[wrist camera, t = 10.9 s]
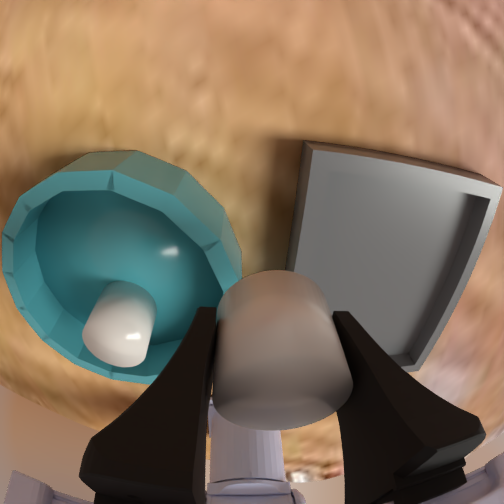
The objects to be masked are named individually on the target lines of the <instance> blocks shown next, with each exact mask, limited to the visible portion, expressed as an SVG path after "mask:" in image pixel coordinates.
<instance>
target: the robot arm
mask: <svg viewBox="0 0 504 504" xmlns="http://www.w3.org/2000/svg"><path fill="white" fill-rule="evenodd" d="M216 312H217V307H202V306H200V307H199V308H197V310H196V313H195V316H194V318H193V321H192V323H191V325H190V327H189V329H188V331H187V333H186V334H185V336H184V338H183V340H182V341H181V343H180V345H179V347H178V348H177V350H176V351H175V353H174V354H173V356H172V357H171V359H170V360H169V362H168V363H167V365H166V366H165V367H164V369H163V370H162V371H161V373H160V374H159V375H158V376H157V378H156V379H155V380H154V381H153V383H152V384H151V385H150V386H149V387H148V388H147V389H146V390H145V392H144V393H143V394H142V395H141V396H140V397H139V398H138V399H137V400H136V401H135V402H134V403H133V404H132V405H131V406H130V407H129V408H128V409H126V410H125V411H124V412H123V413H122V414H121V415H120V416H119V417H118V418H117V419H115V420H114V421H113V422H112V423H110V424H109V425H108V426H106V427H105V428H104V429H102V430H101V431H100V432H98V433H97V434H96V435H94V436H93V437H92V438H91V440H90V442H89V443H88V446H87V448H86V451H85V453H84V455H83V459H82V463H81V467H80V472H79V477H80V479H81V480H82V481H83V482H84V483H85V484H86V485H87V486H88V487H90V488H91V489H92V490H93V491H95V492H96V493H95V499H94V503H93V502H89V501H86V500H82V499H79V498H76V497H73V496H69V495H67V494H63V493H61V492H58V491H55V490H53V489H52V488H51V487H50V486H48V485H47V484H45V483H43V482H41V481H39V480H37V479H34V478H32V477H29V476H27V475H25V474H22V473H20V472H18V471H16V470H13V471H12V474H11V478H10V481H9V485H8V489H7V493H6V497H5V501H4V504H306V501H305V498H304V496H303V495H302V494H301V493H300V492H299V491H298V490H296V489H291V488H290V482H286V480H285V471H284V461H283V452H282V442H281V433H280V430H276V431H265V430H255V429H249V428H245V427H241V426H238V425H236V424H233V423H231V422H229V421H227V420H226V419H224V418H223V417H222V416H221V415H220V414H219V413H218V412H217V411H216V410H215V408H214V405H213V401H212V397H211V390H212V383H213V373H214V355H215V338H216ZM332 318H333V321H334V324H335V327H336V330H337V333H338V336H339V339H340V342H341V345H342V348H343V351H344V354H345V358H346V361H347V364H348V367H349V370H350V373H351V377H352V380H353V389H352V392H351V395H350V397H349V398H348V400H347V401H346V402H345V403H344V404H343V406H341V407H340V408H339V409H338V410H337V411H336V412H337V416H338V421H339V426H340V433H341V441H342V450H343V460H344V477H345V504H504V452H503V453H501V454H500V455H498V456H496V457H495V458H493V459H492V460H490V461H489V462H488V463H487V464H486V465H485V466H483V467H481V468H479V469H477V470H475V471H472V472H470V473H468V474H466V475H465V474H464V471H463V468H462V467H464V466H465V465H466V462H465V459H464V457H465V456H466V455H468V454H469V453H470V452H471V451H473V450H474V449H475V448H476V447H477V446H478V445H479V444H481V443H482V441H483V440H484V439H485V436H486V433H485V431H484V429H483V426H482V424H481V422H480V420H479V418H478V417H477V416H475V415H473V414H471V413H469V412H467V411H464V410H462V409H460V408H458V407H456V406H454V405H453V404H451V403H449V402H447V401H446V400H444V399H442V398H441V397H439V396H437V395H436V394H434V393H433V392H432V391H430V390H429V389H427V388H426V387H424V386H423V385H422V384H420V383H419V382H418V381H417V380H415V379H414V378H413V377H412V376H411V375H409V374H408V373H407V372H406V371H405V370H403V369H402V368H401V367H400V366H399V365H398V364H397V363H396V362H395V361H394V360H393V359H392V358H391V357H390V356H389V355H388V354H387V353H386V352H385V351H384V350H383V349H382V348H381V347H380V346H379V345H378V344H377V343H376V342H375V340H374V339H373V338H372V337H371V336H370V335H369V334H368V333H367V331H366V330H365V329H364V328H363V327H362V326H361V325H360V323H359V322H358V321H357V320H356V319H355V318H354V317H353V316H352V314H351V313H350V312H349V311H334V312H333V315H332ZM207 417H208V424H209V437H210V438H211V452H210V483H208V484H207V491H205V460H206V428H207Z"/></svg>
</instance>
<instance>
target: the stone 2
mask: <svg viewBox="0 0 504 504" xmlns="http://www.w3.org/2000/svg"><path fill="white" fill-rule="evenodd" d="M352 389H353V380H352V377H351V373H350V370H349V367H348V364H347V361H346V358H345V354H344V351H343V348H342V345H341V342H340V339H339V336H338V333H337V330H336V327H335V324H334V321H333V318H332V315H331V312H330V309H329V307H328V304H327V301H326V298H325V295H324V293H323V291H322V290H321V289H320V287H319V286H318V285H317V284H316V283H315V282H314V281H312V280H311V279H309V278H308V277H306V276H304V275H301V274H298V273H295V272H291V271H284V270H270V271H263V272H258V273H255V274H252V275H249V276H247V277H245V278H243V279H241V280H239V281H238V282H236V283H235V284H234V285H232V286H231V287H230V288H229V289H228V290H227V291H226V292H225V294H224V295H223V297H222V298H221V300H220V302H219V306H218V310H217V323H216V338H215V355H214V373H213V392H212V401H213V405H214V408H215V410H216V411H217V412H218V413H219V414H220V415H221V416H222V417H223V418H224V419H226V420H227V421H229V422H231V423H233V424H236V425H238V426H241V427H245V428H249V429H255V430H265V431H276V430H287V429H293V428H298V427H302V426H306V425H309V424H312V423H315V422H317V421H320V420H322V419H324V418H326V417H328V416H329V415H331V414H333V413H334V412H335V411H337V410H338V409H339V408H340V407H341V406H343V404H344V403H345V402H346V401H347V400H348V398H349V397H350V395H351V392H352Z"/></svg>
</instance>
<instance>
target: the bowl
mask: <svg viewBox="0 0 504 504" xmlns="http://www.w3.org/2000/svg"><path fill="white" fill-rule="evenodd" d="M2 270H3V274H4V277H5V280H6V282H7V285H8V288H9V290H10V293H11V295H12V298H13V300H14V303H15V305H16V307H17V309H18V310H19V312H20V313H21V314H22V316H23V317H24V318H25V320H26V321H27V322H28V323H29V325H30V326H31V327H32V328H33V330H34V331H35V332H36V333H37V335H38V336H39V337H40V338H41V339H42V340H43V341H44V342H45V343H47V344H48V345H49V346H50V347H52V348H53V349H54V350H56V351H57V352H58V353H60V354H61V355H63V356H64V357H65V358H67V359H68V360H70V361H71V362H72V363H74V364H76V365H78V366H80V367H83V368H85V369H87V370H90V371H92V372H95V373H97V374H100V375H102V376H105V377H107V378H110V379H113V380H120V381H127V382H134V383H142V384H152V383H153V381H154V380H155V379H156V378H157V376H158V375H159V374H160V373H161V371H162V370H163V369H164V367H165V366H166V365H167V363H168V362H169V360H170V359H171V357H172V356H173V354H174V353H175V351H176V350H177V348H178V347H179V345H180V343H181V341H182V340H183V338H184V336H185V334H186V333H187V331H188V329H189V327H190V325H191V323H192V321H193V318H194V316H195V313H196V310H197V308H199V307H200V306H202V307H217V310H218V306H219V302H220V300H221V298H222V297H223V295H224V294H225V292H226V291H227V290H228V289H229V288H230V287H231V286H232V285H234V284H235V283H236V282H238V281H239V280H241V279H242V254H241V249H240V247H239V244H238V242H237V239H236V237H235V234H234V232H233V229H232V227H231V224H230V222H229V219H228V217H227V214H226V212H225V209H224V208H223V207H222V206H221V205H220V204H219V203H218V202H217V201H216V200H215V199H214V198H213V197H212V196H211V195H210V194H209V193H208V192H207V191H206V190H205V189H204V188H203V187H202V186H201V185H200V184H199V183H198V182H197V181H196V180H195V179H194V178H193V177H192V176H191V175H190V174H189V173H188V172H187V171H186V170H184V169H181V168H179V167H176V166H174V165H172V164H169V163H167V162H164V161H162V160H160V159H157V158H155V157H152V156H150V155H147V154H145V153H142V152H140V151H108V152H89V153H87V154H86V155H84V156H82V157H80V158H79V159H77V160H75V161H73V162H72V163H70V164H68V165H66V166H65V167H63V168H61V169H60V170H58V171H56V172H55V173H53V174H52V175H50V176H48V177H47V178H45V179H44V180H42V181H41V182H40V183H38V184H37V185H35V186H34V187H32V188H31V189H29V190H28V191H27V192H25V193H24V194H22V195H21V196H20V197H19V199H18V201H17V203H16V205H15V206H14V208H13V211H12V213H11V215H10V217H9V219H8V221H7V223H6V225H5V227H4V230H3V232H2ZM115 281H127V282H131V283H134V284H137V285H139V286H141V287H142V288H144V289H145V290H146V291H147V292H149V294H150V295H151V296H152V297H153V299H154V300H155V303H156V306H157V315H156V319H155V322H154V326H153V330H152V333H151V337H150V341H149V345H148V349H147V353H146V357H145V359H144V360H143V362H142V363H140V364H139V365H136V366H133V367H118V366H114V365H111V364H108V363H106V362H104V361H102V360H100V359H98V358H97V357H96V356H94V355H93V354H92V353H91V352H90V351H89V350H88V348H87V347H86V345H85V344H84V341H83V338H82V332H83V329H84V327H85V324H86V322H87V320H88V318H89V316H90V314H91V312H92V310H93V308H94V306H95V304H96V302H97V300H98V298H99V296H100V294H101V292H102V290H103V289H104V287H105V286H106V285H108V284H110V283H112V282H115ZM216 323H217V312H216Z"/></svg>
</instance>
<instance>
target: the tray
mask: <svg viewBox="0 0 504 504" xmlns="http://www.w3.org/2000/svg"><path fill="white" fill-rule="evenodd" d="M502 189H503V187H501V186H500V185H498V184H496V183H495V182H493V181H491V180H490V179H488V178H486V177H485V176H483V175H480V174H477V173H473V172H470V171H466V170H462V169H459V168H455V167H451V166H447V165H443V164H439V163H434V162H430V161H426V160H421V159H417V158H412V157H407V156H402V155H397V154H392V153H387V152H381V151H376V150H370V149H364V148H358V147H351V146H345V145H338V144H330V143H323V142H314V141H306V140H303V147H302V155H301V163H300V170H299V178H298V185H297V192H296V200H295V207H294V214H293V221H292V227H291V234H290V241H289V247H288V254H287V260H286V267H285V271H291V272H295V273H298V274H301V275H304V276H306V277H308V278H309V279H311V280H312V281H314V282H315V283H316V284H317V285H318V286H319V287H320V289H321V290H322V291H323V293H324V295H325V298H326V301H327V304H328V307H329V309H330V312H331V315H333V312H334V311H349V312H350V313H351V314H352V316H353V317H354V318H355V319H356V320H357V321H358V322H359V323H360V325H361V326H362V327H363V328H364V329H365V330H366V331H367V333H368V334H369V335H370V336H371V337H372V338H373V339H374V340H375V342H376V343H377V344H378V345H379V346H380V347H381V348H382V349H383V350H384V351H385V352H386V353H387V354H388V355H389V356H390V357H391V358H392V359H393V360H394V361H395V362H396V363H397V364H398V365H399V366H400V367H401V368H402V369H403V370H405V371H406V372H414V371H419V369H420V368H421V366H422V365H423V363H424V362H425V360H426V358H427V357H428V355H429V353H430V352H431V350H432V349H433V347H434V345H435V343H436V342H437V340H438V338H439V337H440V335H441V333H442V331H443V330H444V328H445V326H446V324H447V322H448V320H449V319H450V317H451V315H452V313H453V311H454V309H455V307H456V305H457V303H458V301H459V299H460V297H461V295H462V293H463V291H464V289H465V287H466V285H467V282H468V280H469V278H470V276H471V274H472V271H473V269H474V267H475V265H476V262H477V260H478V257H479V255H480V253H481V250H482V248H483V245H484V242H485V240H486V237H487V235H488V232H489V229H490V226H491V223H492V221H493V218H494V215H495V212H496V209H497V206H498V202H499V199H500V196H501V193H502Z"/></svg>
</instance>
